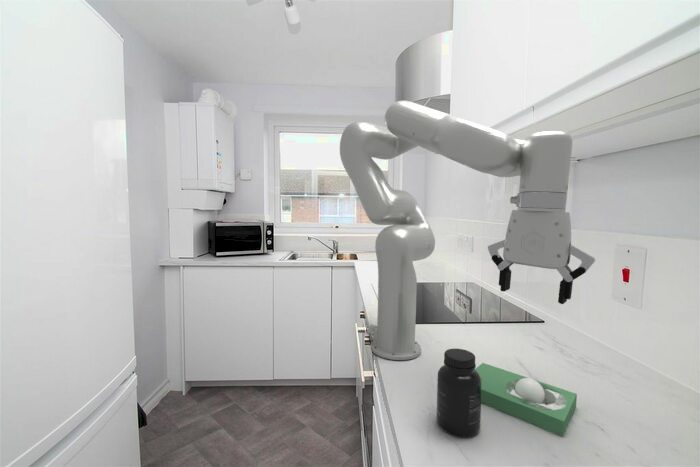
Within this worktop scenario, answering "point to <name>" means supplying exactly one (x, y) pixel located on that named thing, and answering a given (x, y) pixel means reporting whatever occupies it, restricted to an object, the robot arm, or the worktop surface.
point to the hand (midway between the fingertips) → (532, 296)
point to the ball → (530, 390)
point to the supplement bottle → (459, 394)
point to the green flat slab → (504, 398)
